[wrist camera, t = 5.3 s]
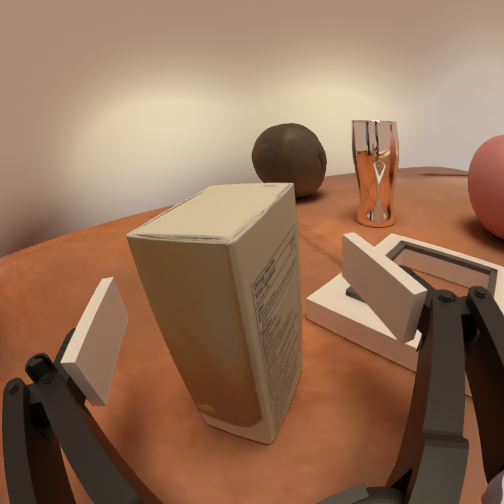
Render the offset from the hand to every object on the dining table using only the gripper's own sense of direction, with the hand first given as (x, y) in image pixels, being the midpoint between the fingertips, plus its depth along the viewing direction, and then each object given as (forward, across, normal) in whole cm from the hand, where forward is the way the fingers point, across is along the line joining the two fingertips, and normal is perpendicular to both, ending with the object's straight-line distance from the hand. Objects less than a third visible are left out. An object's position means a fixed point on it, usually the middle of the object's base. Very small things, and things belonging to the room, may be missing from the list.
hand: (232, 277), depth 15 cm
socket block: (+1, +16, -7) cm, 18 cm away
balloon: (+4, +41, -7) cm, 42 cm away
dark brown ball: (+40, +16, -7) cm, 43 cm away
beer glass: (+21, +23, -7) cm, 32 cm away
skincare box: (-3, 0, -7) cm, 8 cm away
